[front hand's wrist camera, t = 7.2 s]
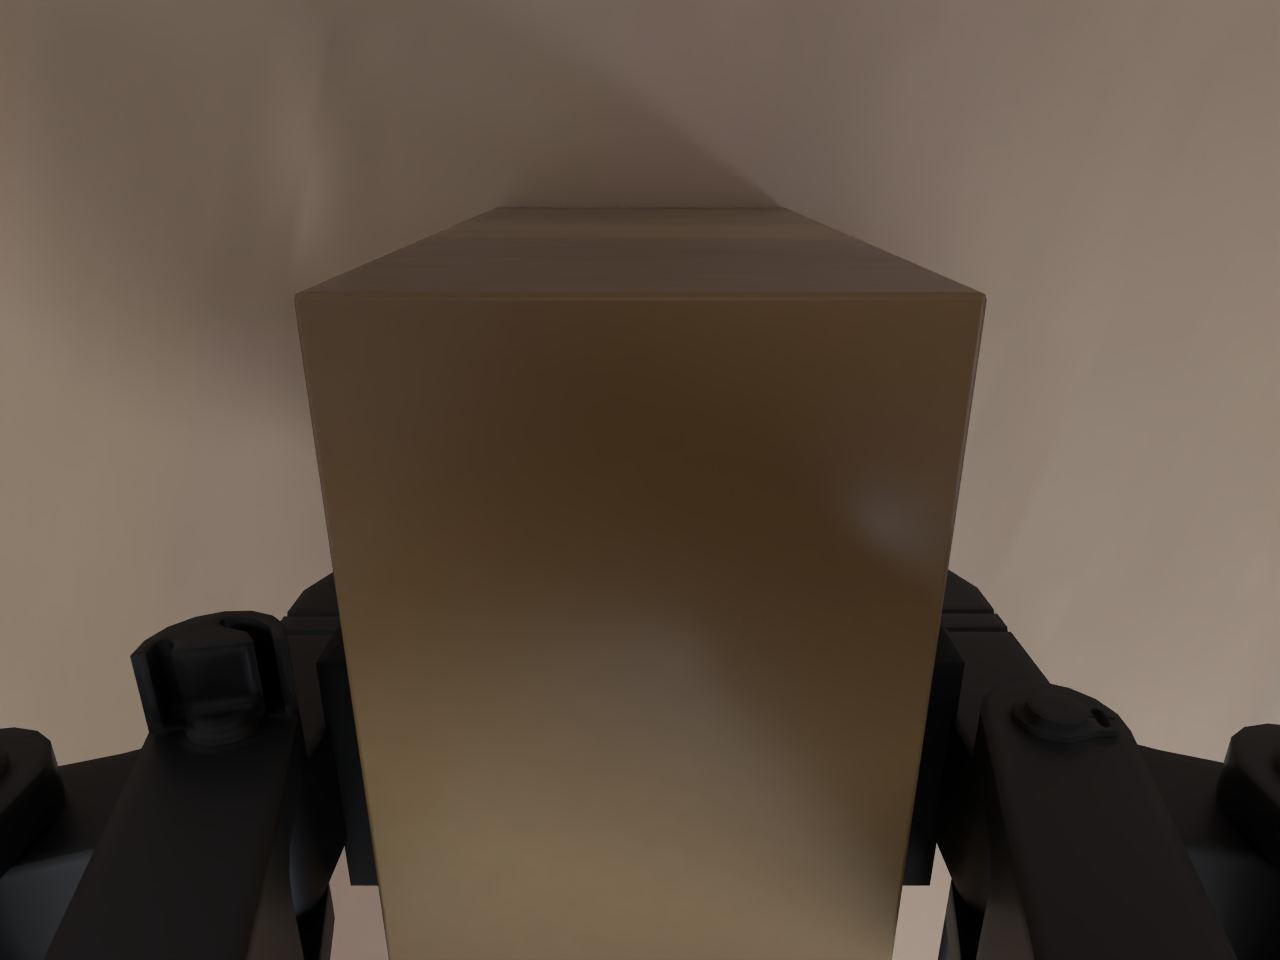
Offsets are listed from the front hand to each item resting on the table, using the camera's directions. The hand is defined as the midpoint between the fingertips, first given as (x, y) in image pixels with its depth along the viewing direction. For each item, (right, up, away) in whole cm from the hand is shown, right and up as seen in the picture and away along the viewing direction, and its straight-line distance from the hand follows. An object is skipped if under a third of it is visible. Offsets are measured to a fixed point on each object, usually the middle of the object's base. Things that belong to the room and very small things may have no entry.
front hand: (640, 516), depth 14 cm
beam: (0, -28, +11) cm, 30 cm away
